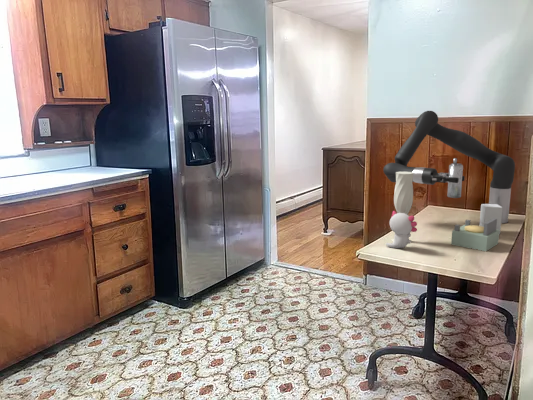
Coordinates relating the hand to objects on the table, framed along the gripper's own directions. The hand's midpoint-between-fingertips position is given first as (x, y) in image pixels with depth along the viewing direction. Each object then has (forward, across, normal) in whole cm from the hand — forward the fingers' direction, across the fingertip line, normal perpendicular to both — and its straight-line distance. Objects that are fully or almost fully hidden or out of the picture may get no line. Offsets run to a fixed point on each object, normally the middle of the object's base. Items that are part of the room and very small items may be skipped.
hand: (461, 179), depth 194 cm
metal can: (-3, 0, +8) cm, 8 cm away
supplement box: (+8, +16, +26) cm, 31 cm away
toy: (-9, -33, +26) cm, 43 cm away
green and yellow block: (+10, -7, +26) cm, 29 cm away
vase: (-14, -24, +26) cm, 38 cm away
